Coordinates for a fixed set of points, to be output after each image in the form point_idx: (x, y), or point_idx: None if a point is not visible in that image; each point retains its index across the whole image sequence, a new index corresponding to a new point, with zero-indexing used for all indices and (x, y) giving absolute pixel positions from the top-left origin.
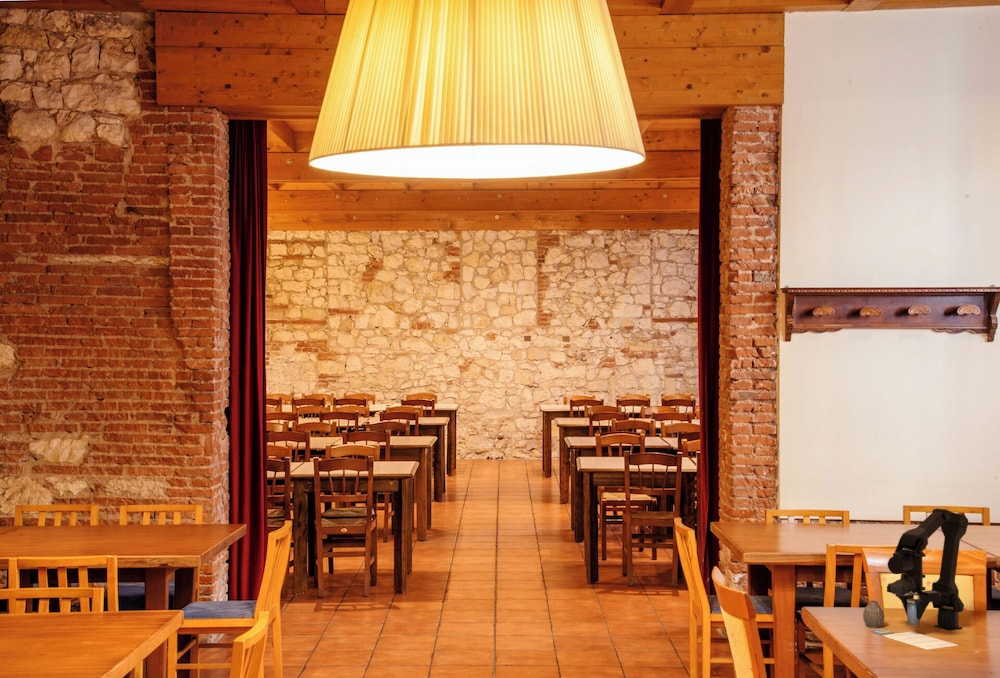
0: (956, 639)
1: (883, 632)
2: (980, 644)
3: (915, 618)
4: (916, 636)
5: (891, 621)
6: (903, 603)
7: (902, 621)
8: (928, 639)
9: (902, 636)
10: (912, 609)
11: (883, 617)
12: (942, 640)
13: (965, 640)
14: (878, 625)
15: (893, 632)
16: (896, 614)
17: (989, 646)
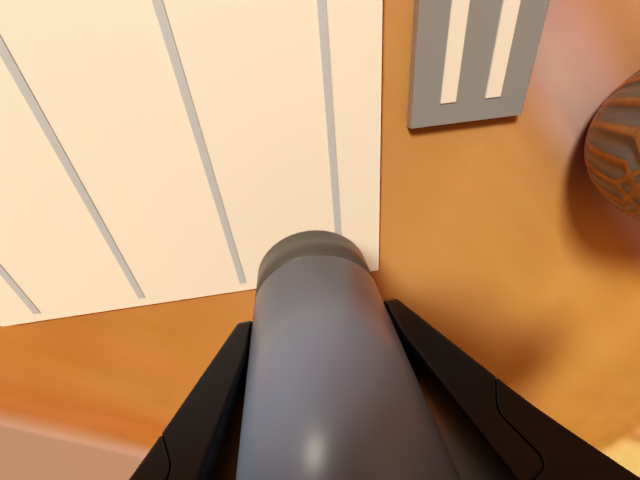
0: (179, 376)
1: (451, 16)
2: (69, 414)
3: (256, 313)
4: (256, 219)
5: (599, 301)
6: (533, 432)
7: (559, 341)
8: (158, 244)
9: (278, 107)
10: (271, 398)
11: (634, 191)
12: (127, 306)
13: (156, 397)
14: (597, 120)
15: (411, 123)
16: (636, 373)
17: (28, 426)
